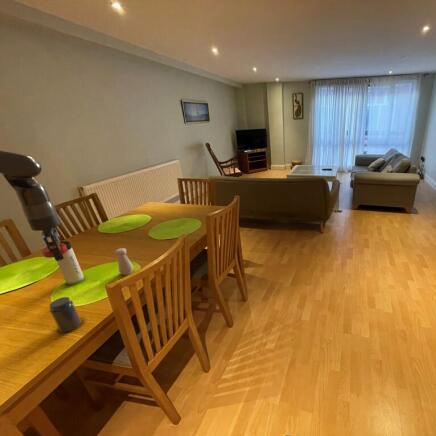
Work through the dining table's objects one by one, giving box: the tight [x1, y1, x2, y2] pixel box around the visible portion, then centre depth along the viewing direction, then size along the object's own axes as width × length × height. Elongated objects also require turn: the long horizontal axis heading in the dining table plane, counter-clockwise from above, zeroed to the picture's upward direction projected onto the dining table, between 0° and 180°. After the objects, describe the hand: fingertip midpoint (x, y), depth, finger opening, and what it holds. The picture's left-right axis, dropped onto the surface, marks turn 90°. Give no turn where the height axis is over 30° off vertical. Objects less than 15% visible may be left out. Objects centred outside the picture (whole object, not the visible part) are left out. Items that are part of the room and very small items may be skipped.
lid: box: [41, 243, 68, 259], centre depth 87 cm, size 6×6×2 cm
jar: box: [49, 296, 82, 334], centre depth 85 cm, size 6×6×11 cm
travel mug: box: [56, 240, 85, 286], centre depth 107 cm, size 6×7×20 cm
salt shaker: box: [114, 247, 134, 276], centre depth 114 cm, size 6×6×13 cm
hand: (60, 255), depth 89 cm, fingers closed on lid, 6 cm apart
